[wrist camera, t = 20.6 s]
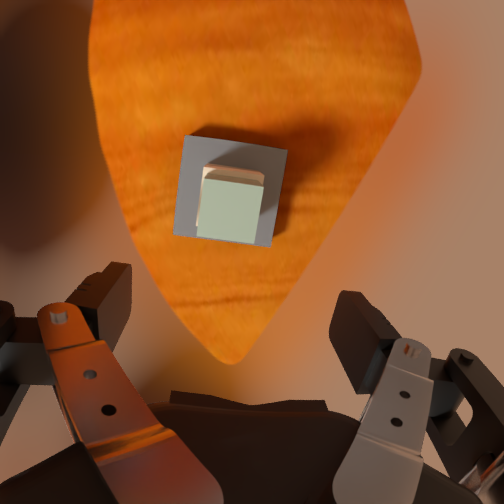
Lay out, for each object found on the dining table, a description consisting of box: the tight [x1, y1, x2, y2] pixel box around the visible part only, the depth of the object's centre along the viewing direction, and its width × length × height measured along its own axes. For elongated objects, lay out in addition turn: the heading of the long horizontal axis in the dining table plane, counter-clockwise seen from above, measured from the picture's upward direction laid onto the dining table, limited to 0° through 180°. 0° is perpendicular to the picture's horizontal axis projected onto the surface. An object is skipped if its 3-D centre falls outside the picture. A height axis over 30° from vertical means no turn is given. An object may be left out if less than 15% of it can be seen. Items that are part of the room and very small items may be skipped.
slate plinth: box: [173, 135, 288, 247], centre depth 39 cm, size 12×12×3 cm
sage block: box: [197, 173, 264, 244], centre depth 30 cm, size 5×5×5 cm
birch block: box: [196, 163, 264, 226], centre depth 35 cm, size 6×6×6 cm
